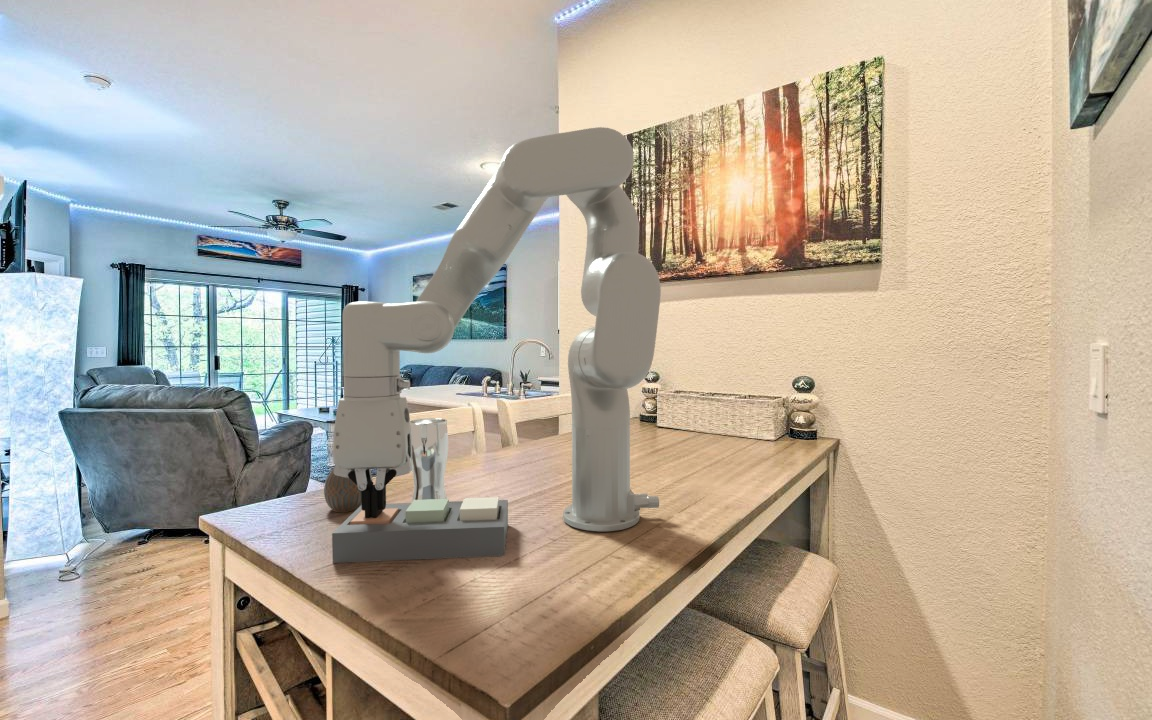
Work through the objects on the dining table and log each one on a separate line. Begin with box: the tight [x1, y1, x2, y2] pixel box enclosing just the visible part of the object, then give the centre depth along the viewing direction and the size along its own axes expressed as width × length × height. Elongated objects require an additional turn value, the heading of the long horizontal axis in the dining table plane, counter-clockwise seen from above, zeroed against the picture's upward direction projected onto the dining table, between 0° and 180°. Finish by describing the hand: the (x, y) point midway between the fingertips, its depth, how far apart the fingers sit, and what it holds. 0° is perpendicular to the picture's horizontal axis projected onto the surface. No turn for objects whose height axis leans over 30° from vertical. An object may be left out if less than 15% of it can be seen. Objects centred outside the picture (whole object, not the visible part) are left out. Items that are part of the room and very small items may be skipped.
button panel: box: [331, 499, 509, 564], centre depth 74 cm, size 23×12×4 cm, turn 95°
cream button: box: [460, 496, 500, 521], centre depth 75 cm, size 5×5×4 cm
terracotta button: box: [350, 508, 398, 525], centre depth 74 cm, size 5×5×4 cm
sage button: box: [405, 498, 450, 523], centre depth 74 cm, size 5×5×4 cm
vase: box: [323, 467, 362, 513], centre depth 90 cm, size 7×7×9 cm
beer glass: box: [410, 417, 449, 503], centre depth 93 cm, size 7×7×15 cm
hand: (374, 514), depth 74 cm, fingers closed
